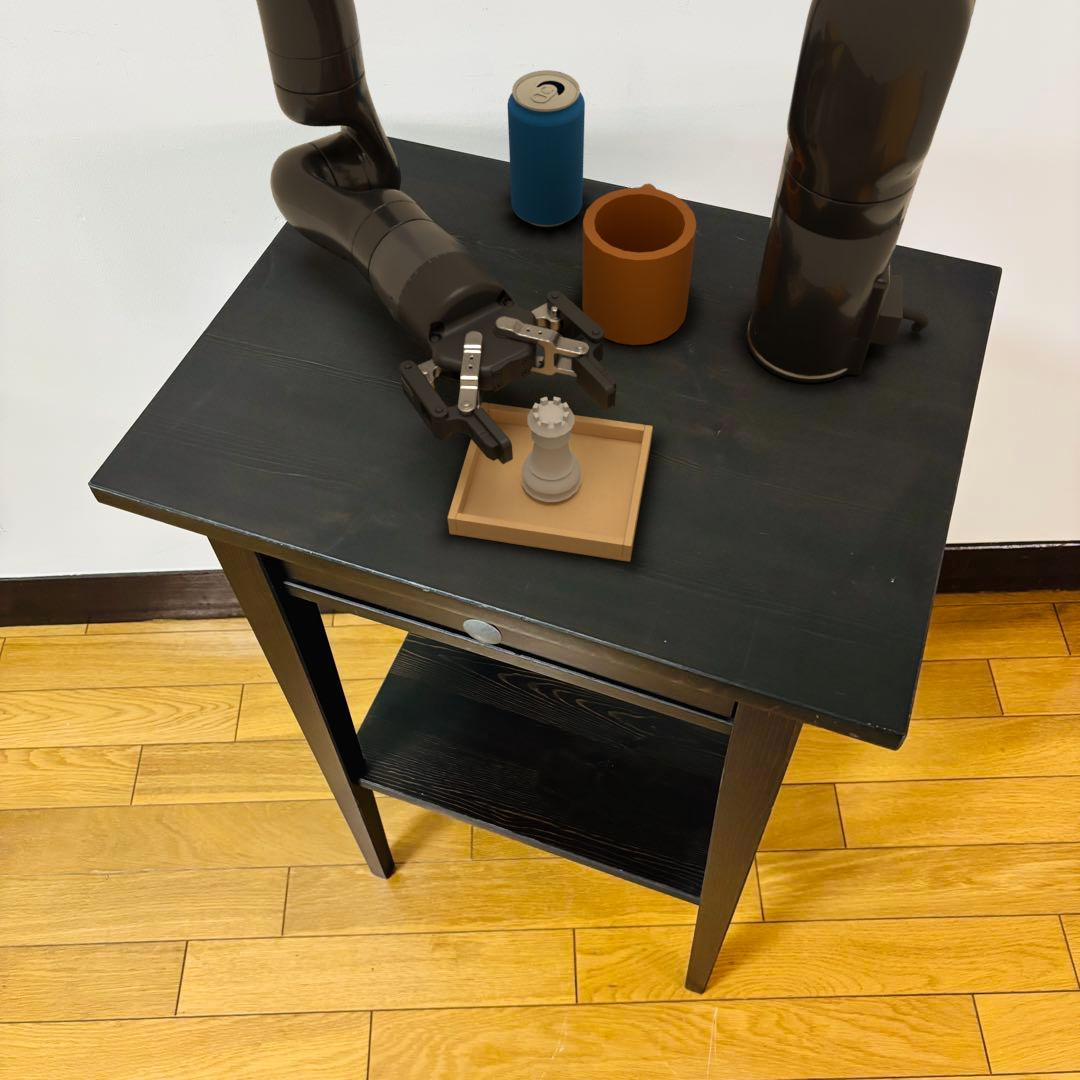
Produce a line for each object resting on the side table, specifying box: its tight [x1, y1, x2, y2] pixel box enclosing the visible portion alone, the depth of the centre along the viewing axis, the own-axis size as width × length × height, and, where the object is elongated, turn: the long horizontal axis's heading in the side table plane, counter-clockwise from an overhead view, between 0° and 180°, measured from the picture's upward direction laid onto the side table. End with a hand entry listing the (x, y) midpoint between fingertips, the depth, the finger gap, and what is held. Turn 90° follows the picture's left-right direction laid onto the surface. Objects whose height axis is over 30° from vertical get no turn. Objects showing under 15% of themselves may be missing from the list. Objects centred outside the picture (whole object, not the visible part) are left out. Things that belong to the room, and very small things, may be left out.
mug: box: [581, 183, 697, 346], centre depth 87 cm, size 9×12×9 cm
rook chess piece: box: [522, 396, 581, 502], centre depth 76 cm, size 4×4×8 cm
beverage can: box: [507, 69, 586, 228], centre depth 93 cm, size 6×6×12 cm
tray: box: [446, 401, 654, 563], centre depth 78 cm, size 13×11×2 cm
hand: (561, 426), depth 73 cm, fingers open, 8 cm apart
